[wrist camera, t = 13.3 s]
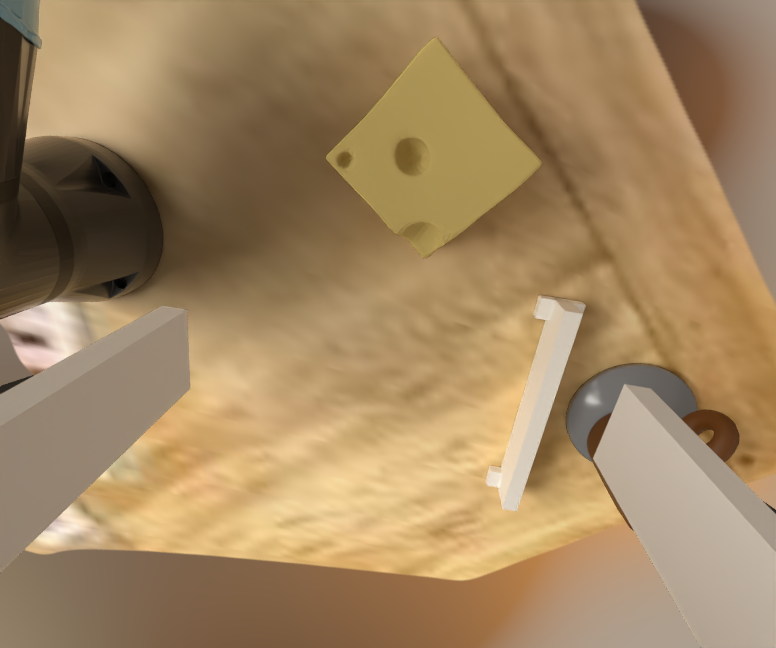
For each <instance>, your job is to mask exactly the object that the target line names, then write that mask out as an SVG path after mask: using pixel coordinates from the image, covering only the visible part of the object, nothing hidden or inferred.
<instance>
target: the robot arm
mask: <svg viewBox="0 0 776 648" xmlns="http://www.w3.org/2000/svg"><path fill="white" fill-rule="evenodd" d="M39 4H40V0H0V319H3V318H5V317H8V316H11V315H13V314H16V313H19V312H22V311H24V310H27V309H30V308H32V307H35V306H38V305H41V304H44V303H47V302H98V301H105V300H110V299H114V298H117V297H119V296H122V295H124V294H127V293H129V292H132V291H134V290H136V289H137V288H139V287H140V286H142V285H143V284H144V283H145V282H146V281H147V280H148V279H149V278H150V277H151V276H152V274H153V273H154V271H155V269H156V267H157V265H158V262H159V259H160V256H161V251H162V227H161V221H160V217H159V213H158V210H157V207H156V205H155V202H154V200H153V198H152V196H151V194H150V192H149V190H148V189H147V187H146V186H145V184H144V183H143V181H142V180H141V178H140V177H139V176H138V175H137V173H136V172H135V171H134V170H133V169H132V168H131V167H130V166H129V165H128V164H127V163H126V162H125V161H124V160H122V159H121V158H120V157H119V156H117V155H116V154H115V153H113V152H112V151H110V150H108V149H107V148H105V147H103V146H101V145H99V144H96V143H94V142H91V141H88V140H85V139H80V138H73V137H60V136H41V137H35V138H30V139H27V140H25V137H26V129H27V120H28V112H29V105H30V98H31V91H32V84H33V76H34V69H35V62H36V55H37V48H39V49H41V45H42V42H41V39H40V37H39V35H38V27H39ZM189 389H190V371H189V346H188V322H187V310H186V309H180V308H174V307H168V306H160V307H158V308H157V309H155V310H153V311H151V312H149V313H148V314H146V315H144V316H142V317H140V318H138V319H137V320H135V321H133V322H131V323H129V324H127V325H126V326H124V327H122V328H120V329H118V330H117V331H115V332H113V333H111V334H109V335H107V336H106V337H104V338H102V339H100V340H98V341H97V342H95V343H93V344H91V345H89V346H87V347H86V348H84V349H82V350H80V351H78V352H77V353H75V354H73V355H71V356H69V357H67V358H66V359H64V360H62V361H60V362H58V363H57V364H55V365H53V366H51V367H49V368H47V369H46V370H44V371H42V372H40V373H38V374H36V375H32V376H30V377H26V378H24V379H20V380H17V381H14V382H11V383H8V384H5V385H2V386H1V387H0V573H1V571H3V570H4V569H5V568H6V567H7V566H8V565H9V564H10V563H11V562H12V561H13V560H14V559H15V558H16V557H17V556H18V555H19V554H20V553H21V552H22V551H23V550H24V549H25V548H26V547H27V546H28V545H29V544H30V543H31V542H33V541H34V540H35V539H36V538H37V537H38V536H39V535H40V534H41V533H42V532H43V531H44V530H45V529H46V528H47V527H48V526H49V525H50V524H51V523H52V522H53V521H54V520H55V519H56V518H57V517H58V516H59V515H60V514H61V513H62V512H63V511H64V510H66V509H67V508H68V507H69V506H70V505H71V504H72V503H73V502H74V501H75V500H76V499H77V498H78V497H79V496H80V495H81V494H82V493H83V492H84V491H85V490H86V489H87V488H88V487H89V486H90V485H91V484H92V483H93V482H94V481H95V480H96V479H97V478H98V477H100V476H101V475H102V474H103V473H104V472H105V471H106V470H107V469H108V468H109V467H110V466H111V465H112V464H113V463H114V462H115V461H116V460H117V459H118V458H119V457H120V456H121V455H122V454H123V453H124V452H125V451H126V450H127V449H128V448H129V447H130V446H131V445H133V444H134V443H135V442H136V441H137V440H138V439H139V438H140V437H141V436H142V435H143V434H144V433H145V432H146V431H147V430H148V429H149V428H150V427H151V426H152V425H153V424H154V423H155V422H156V421H157V420H158V419H159V418H160V417H161V416H162V415H163V414H164V413H165V412H167V411H168V410H169V409H170V408H171V407H172V406H173V405H174V404H175V403H176V402H177V401H178V400H179V399H180V398H181V397H182V396H183V395H184V394H185V393H186V392H187V391H188V390H189ZM593 460H594V461H595V463H596V465H597V467H598V468H599V470H600V472H601V474H602V475H603V477H604V479H605V481H606V482H607V484H608V486H609V488H610V489H611V491H612V493H613V495H614V497H615V498H616V500H617V502H618V504H619V505H620V507H621V509H622V511H623V512H624V514H625V516H626V518H627V519H628V521H629V523H630V525H631V527H632V528H633V530H634V532H635V534H636V535H637V537H638V539H639V541H640V542H641V544H642V546H643V548H644V549H645V551H646V553H647V555H648V556H649V558H650V560H651V561H652V564H653V565H654V567H655V569H656V570H657V572H658V574H659V576H660V578H661V579H662V581H663V583H664V584H665V586H666V588H667V590H668V592H669V593H670V595H671V597H672V599H673V601H674V602H675V604H676V606H677V608H678V609H679V611H680V613H681V615H682V616H683V618H684V620H685V622H686V623H687V625H688V627H689V629H690V630H691V632H692V634H693V636H694V637H695V639H696V641H697V643H698V645H699V646H700V648H776V510H775V509H774V508H772V507H771V506H769V505H768V504H767V503H765V502H764V501H762V500H761V499H760V498H759V497H758V496H757V495H756V494H755V493H754V492H753V491H752V490H751V489H750V488H749V487H748V486H747V485H746V484H745V483H744V482H743V481H742V480H741V479H740V478H739V477H738V476H737V475H736V474H735V473H734V472H733V471H732V470H731V469H730V468H729V467H728V466H727V465H726V464H725V463H724V462H723V461H722V460H721V459H720V458H719V457H718V456H717V455H716V454H715V453H714V452H713V451H712V450H711V449H710V448H709V447H708V446H707V445H706V444H705V443H704V442H703V441H702V440H701V439H700V438H699V437H698V436H697V435H696V434H695V433H694V432H693V431H692V430H691V429H690V428H689V426H688V425H687V424H686V423H685V422H684V421H683V420H682V419H681V418H680V417H679V416H678V415H677V414H676V413H675V412H674V411H673V410H672V409H671V408H670V407H669V406H668V405H667V404H666V403H665V402H664V401H663V400H662V399H661V398H660V397H659V396H658V395H657V394H656V393H655V392H654V391H653V390H652V389H651V388H645V387H639V386H633V385H627V384H624V386H623V389H622V391H621V393H620V396H619V398H618V401H617V403H616V405H615V408H614V410H613V412H612V415H611V417H610V419H609V422H608V424H607V427H606V429H605V431H604V434H603V436H602V438H601V441H600V443H599V446H598V448H597V450H596V453H595V455H594V457H593Z"/></svg>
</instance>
